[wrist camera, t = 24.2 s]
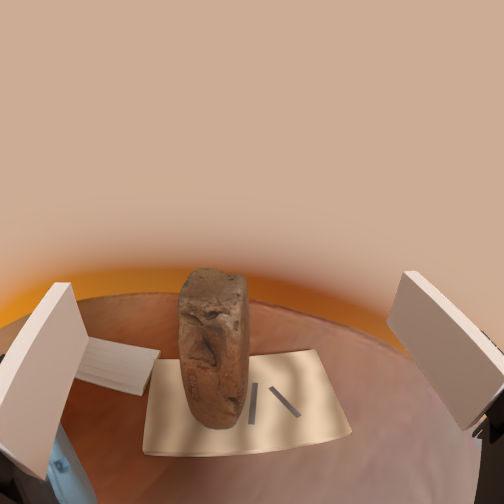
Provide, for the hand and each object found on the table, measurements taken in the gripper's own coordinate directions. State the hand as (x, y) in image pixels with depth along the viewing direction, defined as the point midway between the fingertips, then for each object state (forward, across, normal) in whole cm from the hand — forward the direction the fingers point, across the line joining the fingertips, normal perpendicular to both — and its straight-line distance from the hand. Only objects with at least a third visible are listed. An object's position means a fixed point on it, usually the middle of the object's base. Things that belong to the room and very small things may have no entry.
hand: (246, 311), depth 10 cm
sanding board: (+17, +2, -31) cm, 35 cm away
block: (+16, -1, -29) cm, 33 cm away
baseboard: (+26, -27, -32) cm, 50 cm away
